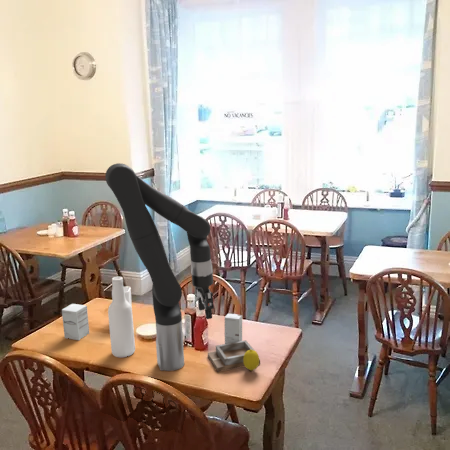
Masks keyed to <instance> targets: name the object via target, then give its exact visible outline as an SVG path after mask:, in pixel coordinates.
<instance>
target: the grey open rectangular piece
mask: <svg viewBox="0 0 450 450" xmlns="http://www.w3.org/2000/svg"><path fill="white" fill-rule="evenodd" d="M250 349H252V350H254V351H256V350H255V349H254V348H253V347H252V345H251V344H250V343H249V341H247V340H242V341H239V342H234V343H228V344H225V343H224V344H218V345H215V350H214V351H210V352H209V351H208V352H207V357H208V359H209V361H210V362H211V364H212V365H213V367H214V369H215V370H216V372H217V373H219V372H224V371H230V370H234V369H239V368H246V367H245V366H244V362H243V358H244V354H245V353H246V352H247V351H248V350H250ZM260 364H261V359H260V358H259V365H260Z"/></svg>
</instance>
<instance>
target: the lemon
mask: <svg viewBox="0 0 450 450" xmlns="http://www.w3.org/2000/svg"><path fill="white" fill-rule="evenodd" d="M254 350H255V349H254ZM254 350H252V349H250V350H248V351H247V352H246V353H245V354H244V358H243V362H244V366H245V367H244V368H246V369H247V370H250V371H251V372H252V371H254V370H256V369H257V368H258V367H259V365H260V364H259V359H260V356H259V354H258V352H257V351H256V350H255V351H254Z"/></svg>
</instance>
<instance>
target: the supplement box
mask: <svg viewBox="0 0 450 450" xmlns="http://www.w3.org/2000/svg"><path fill="white" fill-rule="evenodd" d="M61 316H62V317H61V318H62V323H63V326H62V327H63V333H64V339H68V338H69V339H68V340H73V341H74V340H76V341H81V340H82V339H84V338H85V337H87V336H88V335H90V326H89V325H90V324H89V313H88V306H87V305H85V304H78V303H77V304H76V303H71V304H69V305H68V306H66V307H64V308H62V309H61ZM87 334H88V335H87ZM84 336H85V337H84ZM83 337H84V338H83ZM81 338H82V339H81ZM80 339H81V340H80Z"/></svg>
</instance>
